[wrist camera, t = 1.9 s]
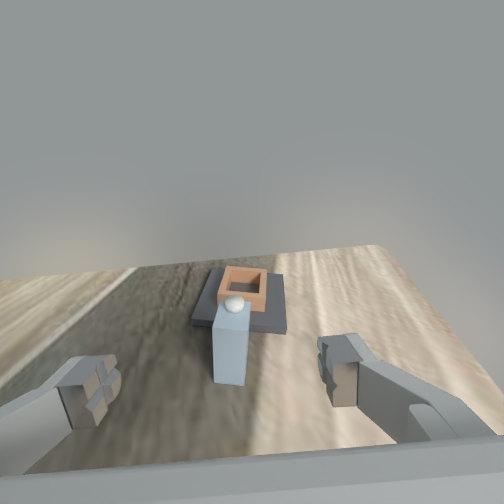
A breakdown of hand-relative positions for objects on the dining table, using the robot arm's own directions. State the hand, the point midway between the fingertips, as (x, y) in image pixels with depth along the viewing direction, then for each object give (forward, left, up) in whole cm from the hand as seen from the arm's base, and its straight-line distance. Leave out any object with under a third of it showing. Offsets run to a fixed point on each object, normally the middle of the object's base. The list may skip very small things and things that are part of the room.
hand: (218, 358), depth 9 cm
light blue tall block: (-2, +15, -22) cm, 27 cm away
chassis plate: (-2, +30, -22) cm, 37 cm away
